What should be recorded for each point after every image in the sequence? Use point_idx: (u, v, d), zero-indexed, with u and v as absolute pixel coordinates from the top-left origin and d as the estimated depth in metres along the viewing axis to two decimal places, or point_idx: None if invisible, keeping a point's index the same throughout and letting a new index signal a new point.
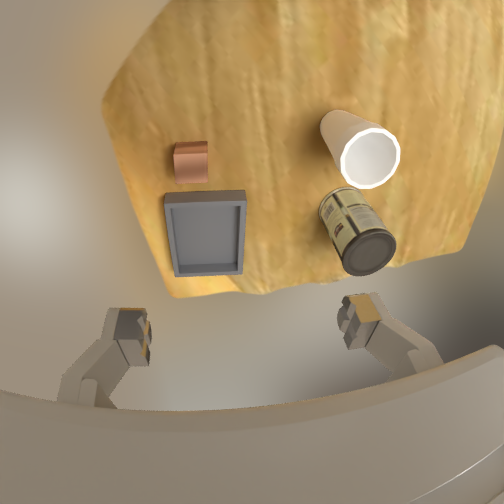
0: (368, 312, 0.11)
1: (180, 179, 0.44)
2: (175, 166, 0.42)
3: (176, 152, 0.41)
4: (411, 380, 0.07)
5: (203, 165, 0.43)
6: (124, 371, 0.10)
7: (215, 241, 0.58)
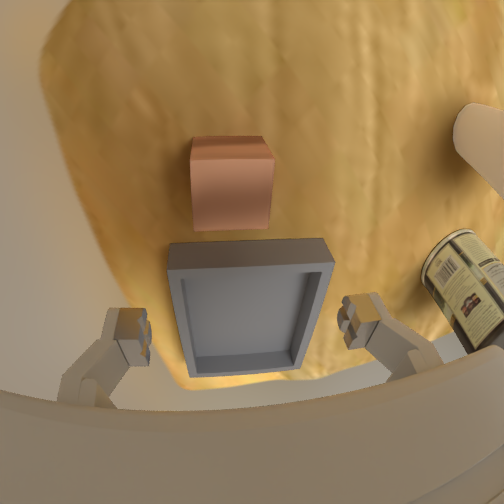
0: (368, 312, 0.11)
1: (205, 221, 0.19)
2: (194, 190, 0.18)
3: (196, 156, 0.17)
4: (411, 380, 0.07)
5: (262, 189, 0.18)
6: (124, 371, 0.10)
7: (261, 324, 0.33)
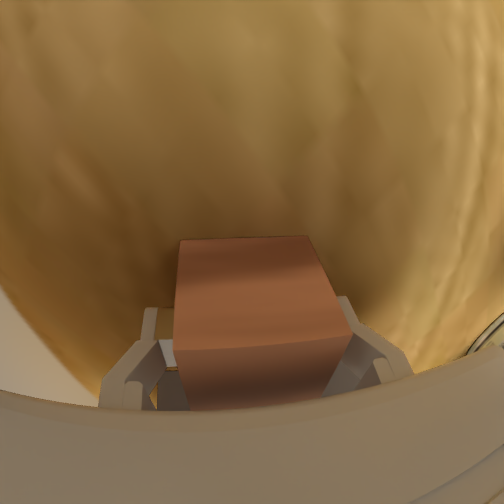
0: None
1: None
2: (188, 384, 0.09)
3: (186, 332, 0.08)
4: (411, 380, 0.07)
5: (317, 373, 0.09)
6: (162, 372, 0.10)
7: None
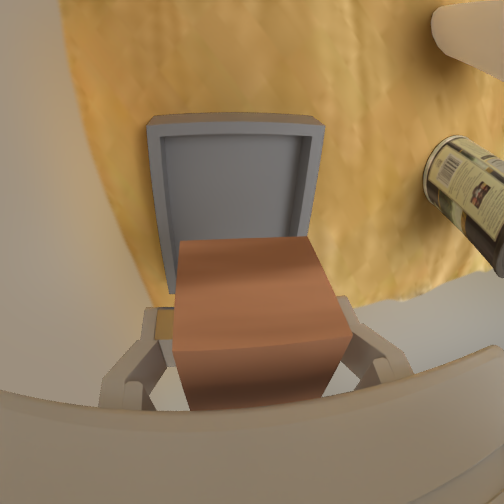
0: None
1: None
2: (188, 385, 0.08)
3: (185, 333, 0.08)
4: (411, 380, 0.07)
5: (317, 374, 0.09)
6: (162, 372, 0.10)
7: (250, 223, 0.30)
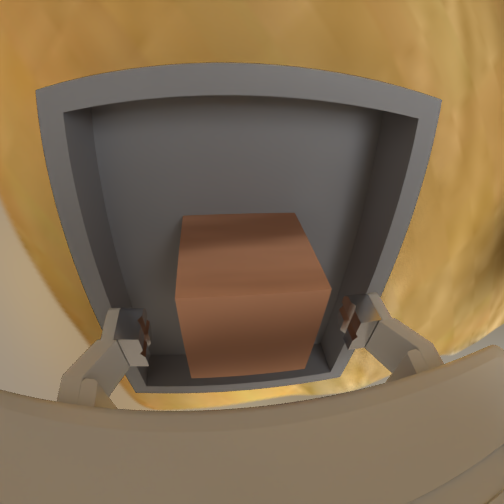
0: (368, 312, 0.11)
1: (209, 369, 0.12)
2: (187, 337, 0.10)
3: (187, 284, 0.09)
4: (411, 380, 0.07)
5: (303, 329, 0.11)
6: (124, 371, 0.10)
7: None
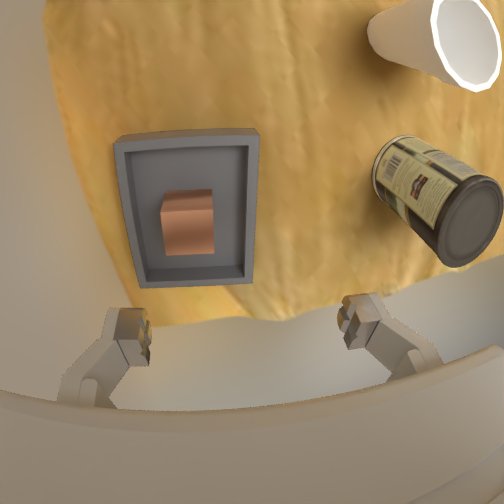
0: (368, 312, 0.11)
1: (173, 249, 0.30)
2: (164, 230, 0.28)
3: (164, 209, 0.27)
4: (411, 380, 0.07)
5: (206, 228, 0.29)
6: (124, 371, 0.10)
7: None
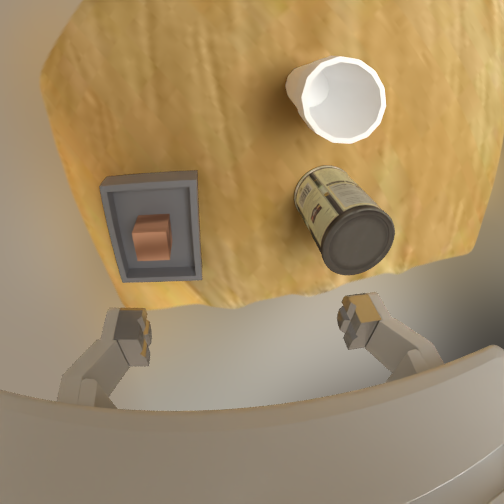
0: (368, 312, 0.11)
1: (142, 257, 0.42)
2: (135, 244, 0.41)
3: (135, 230, 0.40)
4: (411, 380, 0.07)
5: (163, 243, 0.41)
6: (124, 371, 0.10)
7: None
